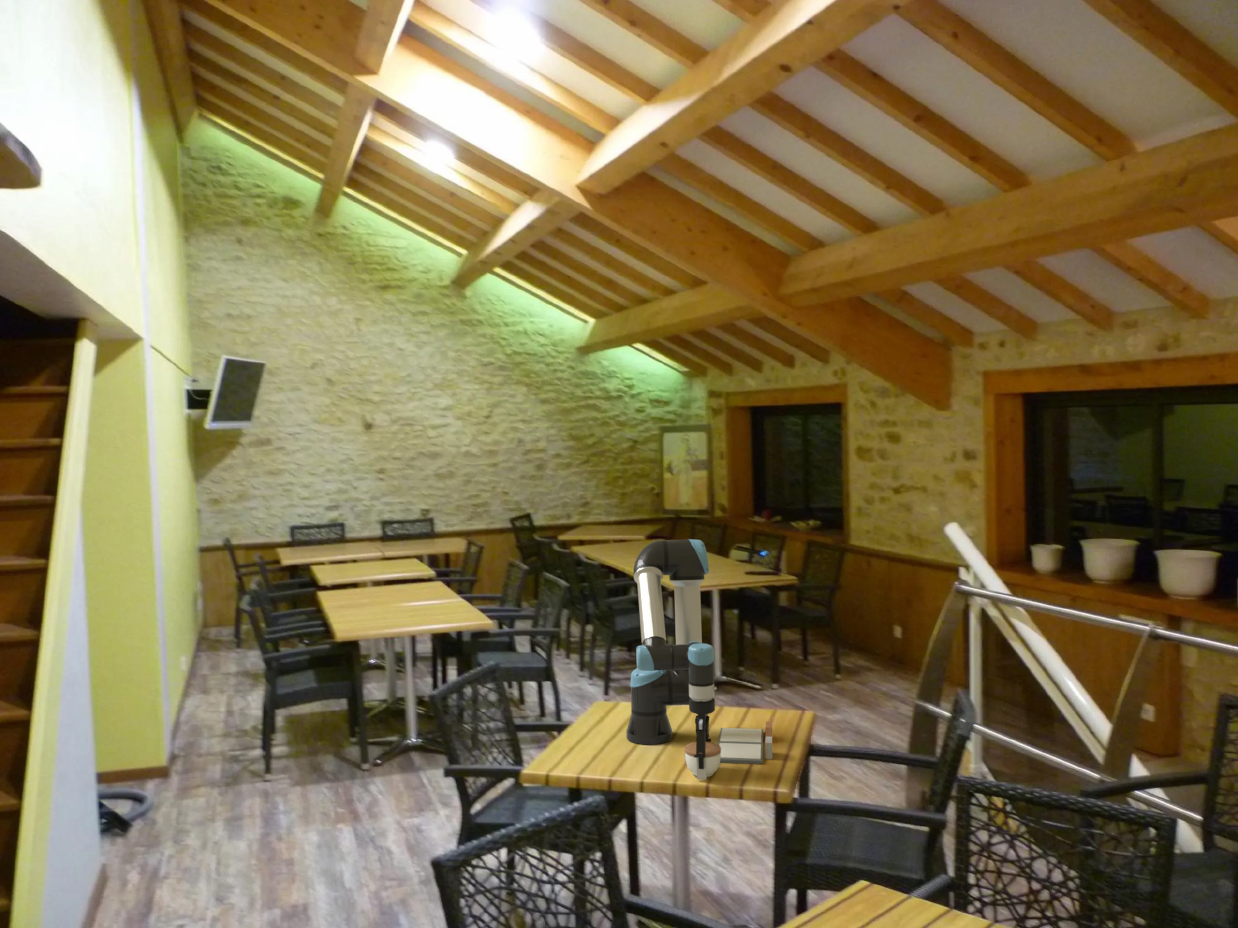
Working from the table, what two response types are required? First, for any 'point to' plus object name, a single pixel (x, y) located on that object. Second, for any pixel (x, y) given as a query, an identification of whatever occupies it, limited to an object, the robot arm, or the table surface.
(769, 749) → the board
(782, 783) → the table surface
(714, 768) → the lidded jar
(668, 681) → the robot arm
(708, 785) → the table surface
